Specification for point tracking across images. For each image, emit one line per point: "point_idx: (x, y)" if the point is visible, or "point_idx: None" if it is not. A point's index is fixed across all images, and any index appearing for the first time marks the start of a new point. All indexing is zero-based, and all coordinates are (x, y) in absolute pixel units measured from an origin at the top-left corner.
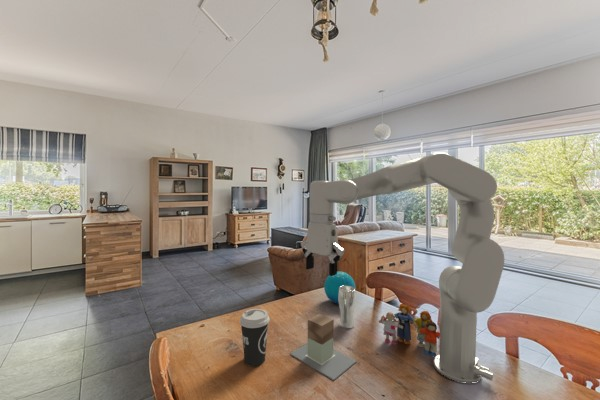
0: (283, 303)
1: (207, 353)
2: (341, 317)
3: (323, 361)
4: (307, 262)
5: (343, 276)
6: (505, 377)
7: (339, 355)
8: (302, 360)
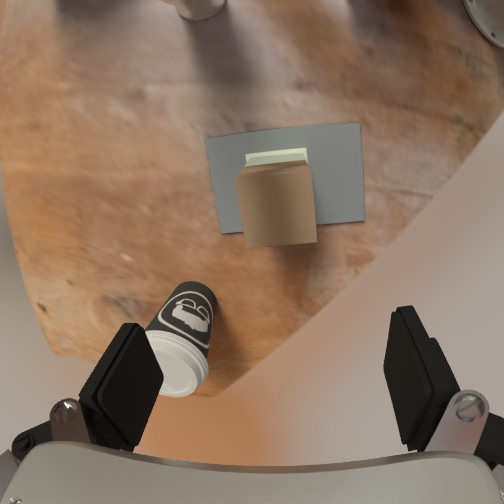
0: (8, 105)
1: None
2: (187, 9)
3: None
4: (143, 417)
5: None
6: None
7: (313, 138)
8: None
